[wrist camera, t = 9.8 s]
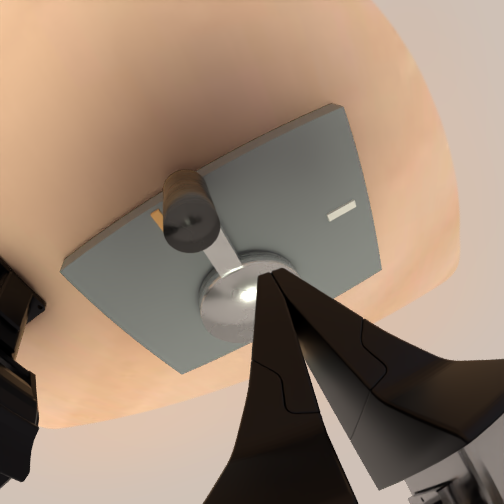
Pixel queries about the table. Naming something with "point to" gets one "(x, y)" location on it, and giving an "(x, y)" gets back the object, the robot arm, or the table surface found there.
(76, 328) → the table surface
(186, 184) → the silver handled piece
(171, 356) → the base plate
